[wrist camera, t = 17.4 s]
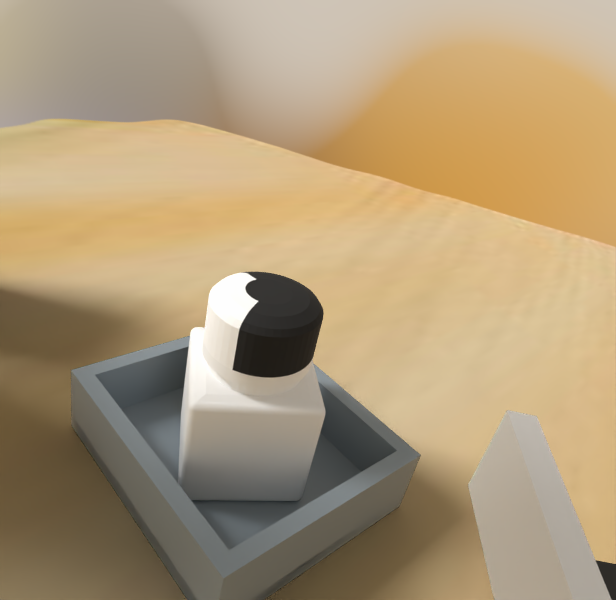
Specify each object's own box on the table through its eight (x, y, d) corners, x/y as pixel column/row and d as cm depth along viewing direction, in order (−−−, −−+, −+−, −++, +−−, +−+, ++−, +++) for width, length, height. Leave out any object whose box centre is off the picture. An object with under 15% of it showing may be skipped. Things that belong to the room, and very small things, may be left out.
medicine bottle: (286, 418, 40) (323, 264, 34) (301, 503, 34) (349, 336, 28) (180, 413, 38) (199, 251, 32) (176, 503, 32) (199, 325, 26)
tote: (71, 425, 37) (71, 370, 35) (249, 363, 46) (257, 316, 44) (211, 635, 28) (223, 578, 25) (399, 506, 37) (420, 455, 34)
